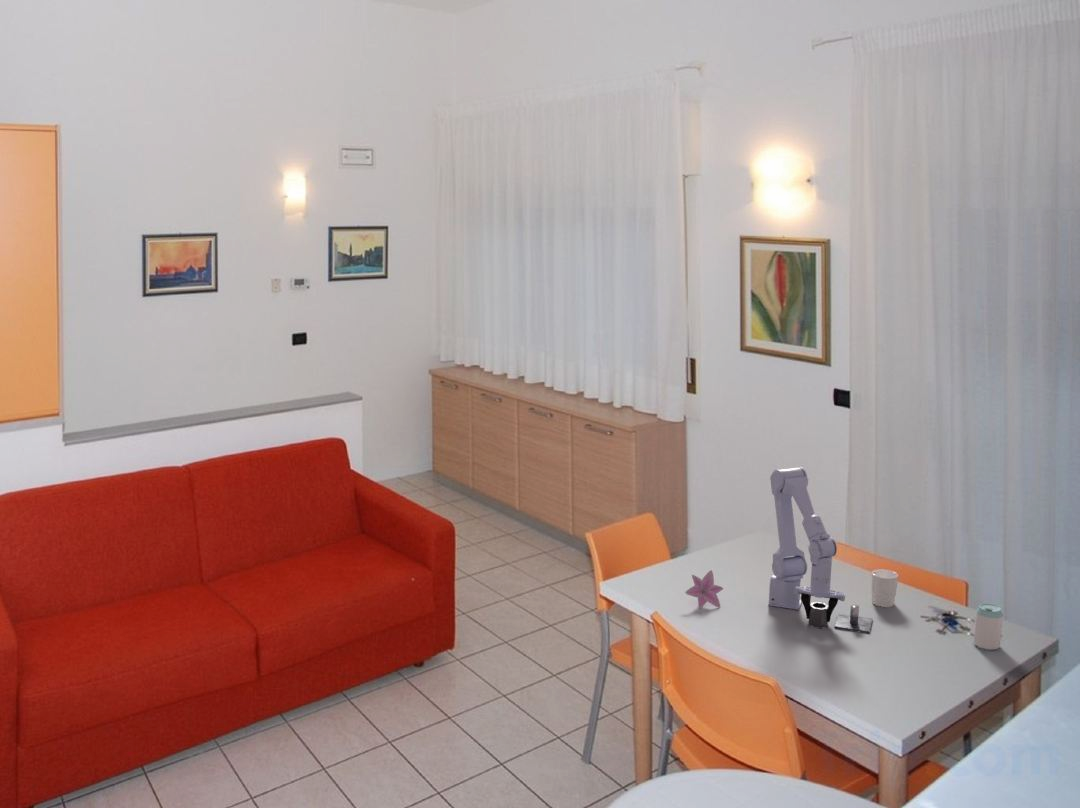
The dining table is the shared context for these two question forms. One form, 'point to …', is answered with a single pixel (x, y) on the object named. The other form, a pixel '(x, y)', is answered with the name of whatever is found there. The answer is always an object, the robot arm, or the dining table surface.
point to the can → (988, 627)
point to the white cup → (884, 587)
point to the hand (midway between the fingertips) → (818, 619)
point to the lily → (705, 590)
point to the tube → (818, 614)
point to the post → (853, 621)
